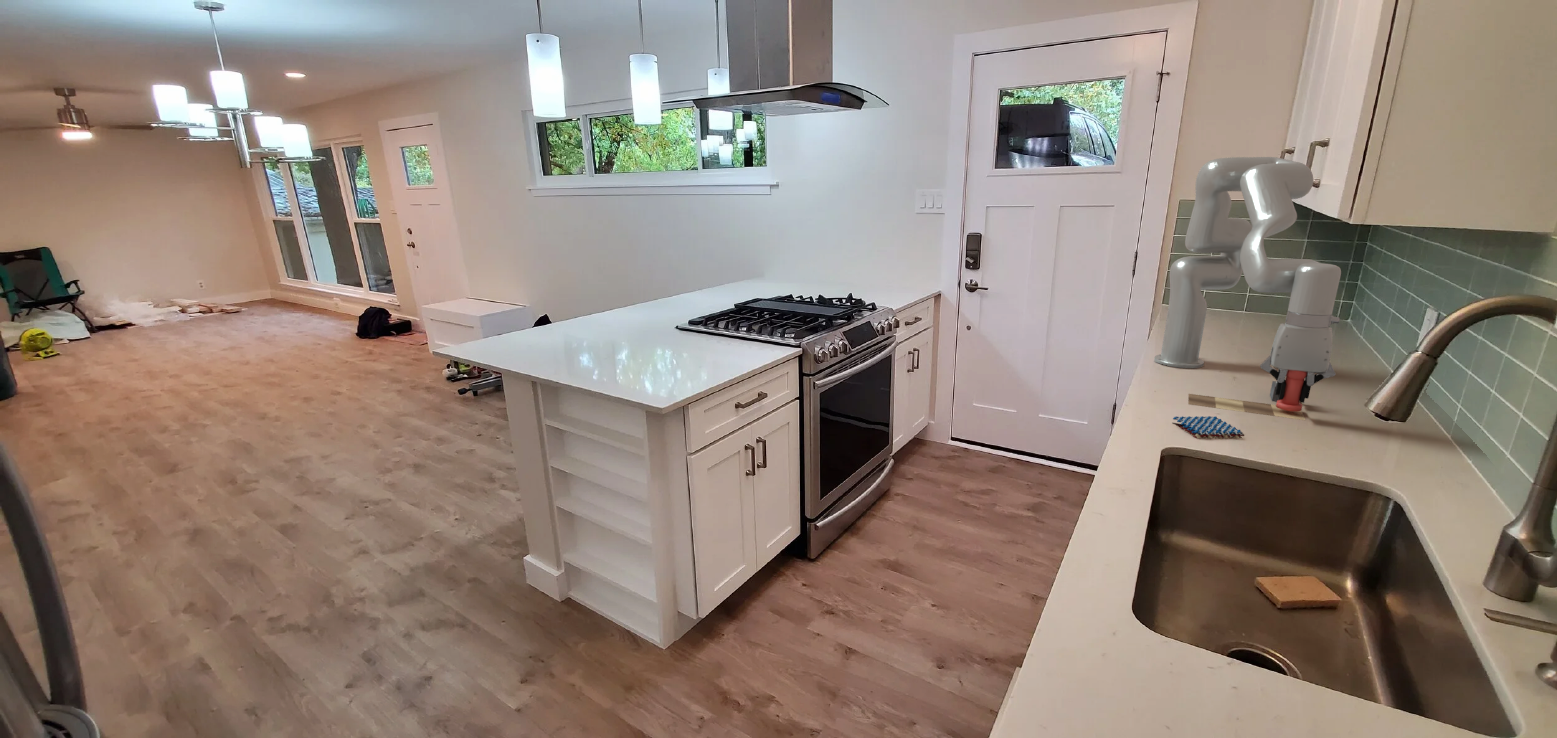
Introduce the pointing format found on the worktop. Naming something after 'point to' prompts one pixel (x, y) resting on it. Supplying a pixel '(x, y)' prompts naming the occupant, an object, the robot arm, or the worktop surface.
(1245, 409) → the board
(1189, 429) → the woven mat
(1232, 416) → the worktop surface
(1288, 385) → the pawn
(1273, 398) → the die
